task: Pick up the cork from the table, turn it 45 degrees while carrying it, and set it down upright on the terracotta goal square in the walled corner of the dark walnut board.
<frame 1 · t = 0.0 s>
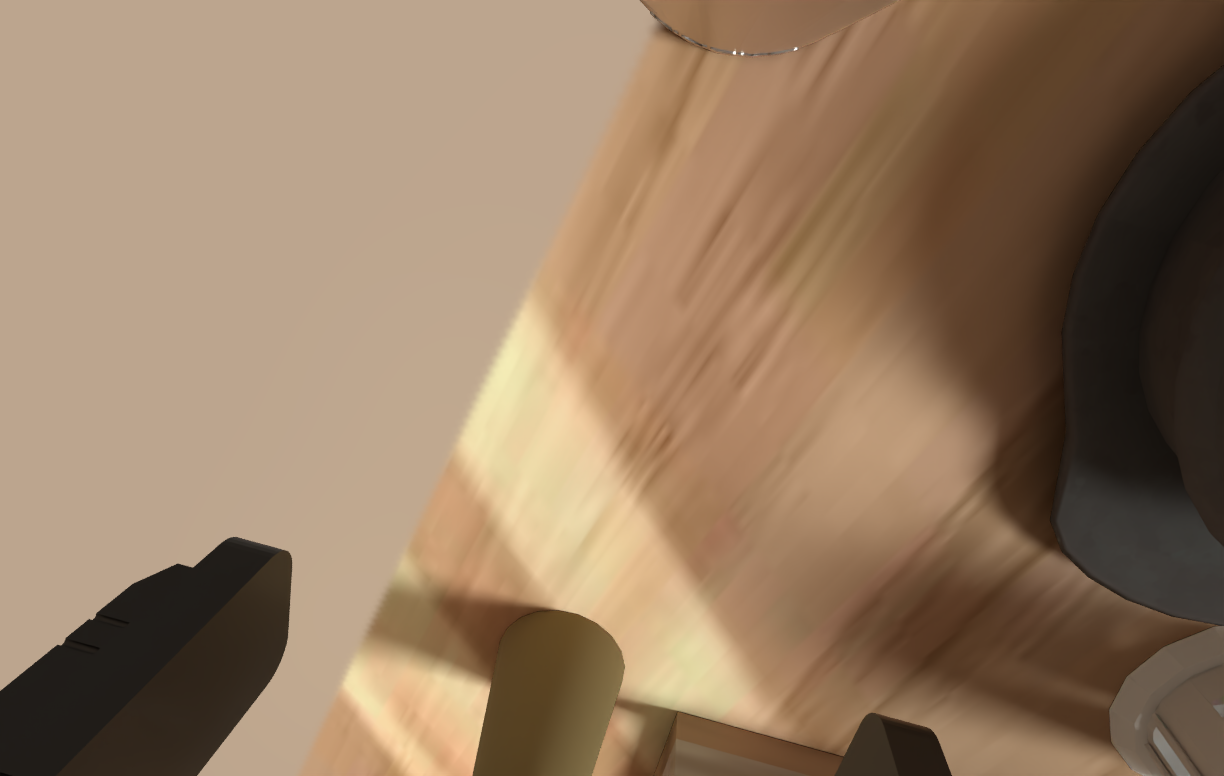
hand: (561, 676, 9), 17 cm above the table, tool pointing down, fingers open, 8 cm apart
french press: (1212, 709, 29), on the table
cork: (561, 658, 32), on the table
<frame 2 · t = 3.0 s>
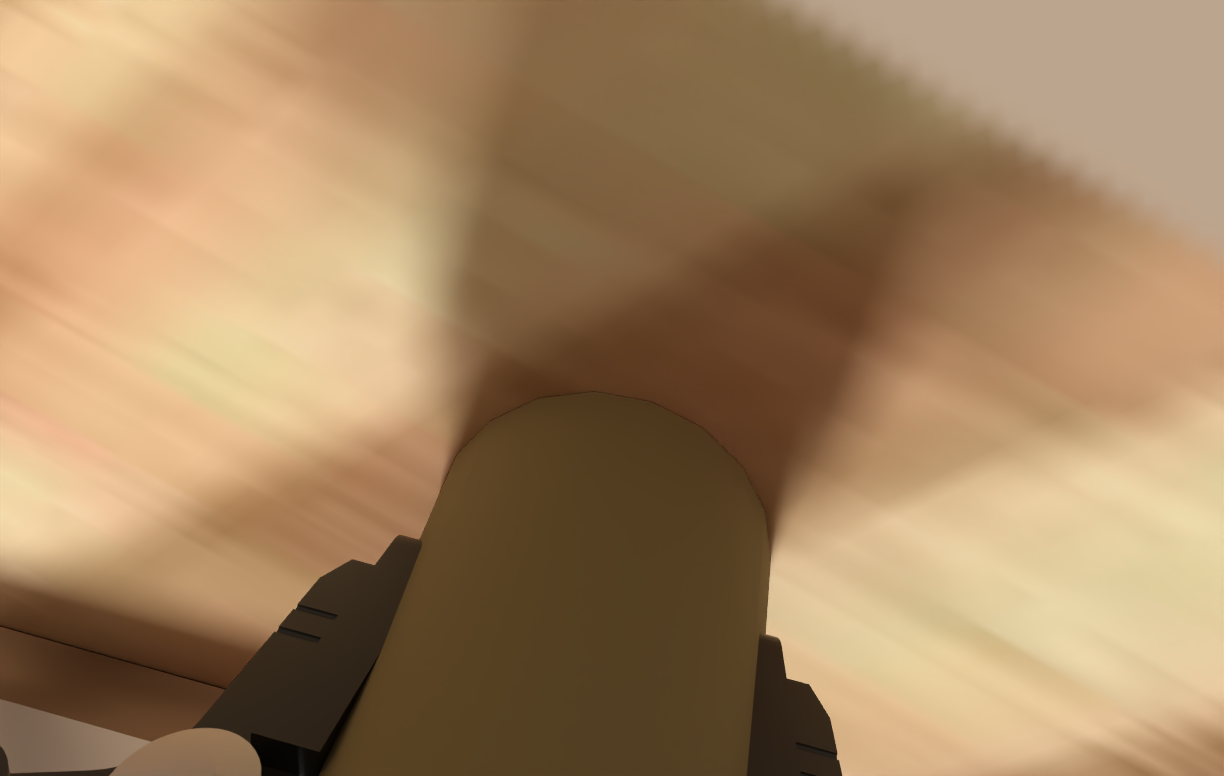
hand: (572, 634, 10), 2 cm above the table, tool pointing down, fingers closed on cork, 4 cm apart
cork: (600, 542, 12), on the table, touching gripper
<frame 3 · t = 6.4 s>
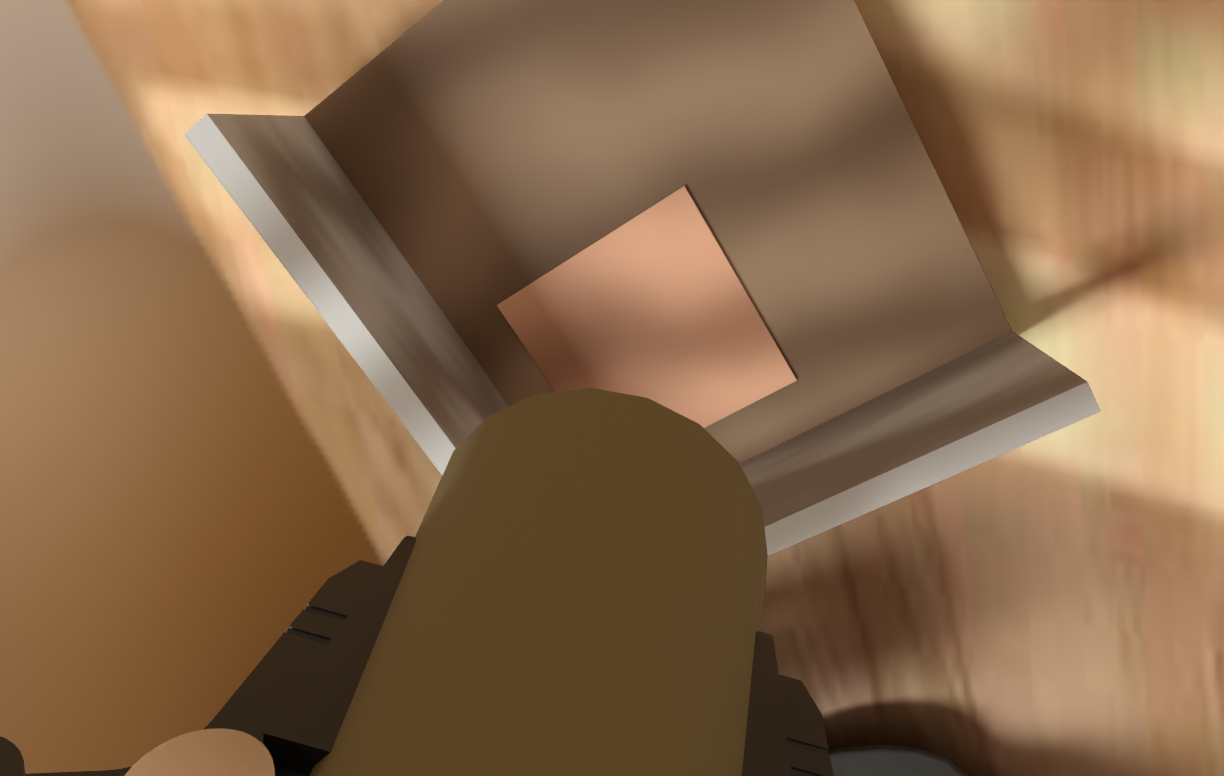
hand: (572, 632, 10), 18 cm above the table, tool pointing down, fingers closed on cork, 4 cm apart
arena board: (652, 236, 25), on the table
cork: (596, 539, 12), point 15 cm above the table, touching gripper
when the fingers open (5 cm above the table, at t = 9.5 s): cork drops 1 cm, resting on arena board.
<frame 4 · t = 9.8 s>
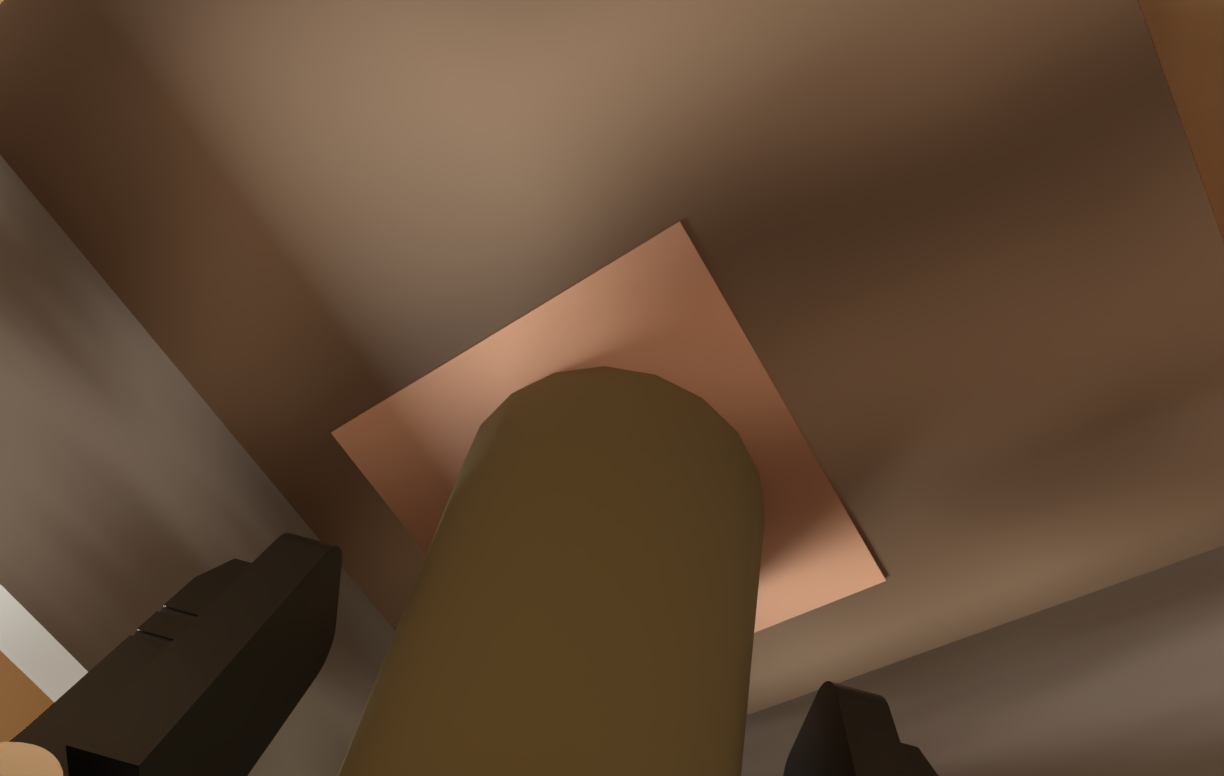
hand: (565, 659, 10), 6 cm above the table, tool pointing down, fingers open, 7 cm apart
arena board: (620, 307, 14), on the table
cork: (609, 505, 14), point 1 cm above the table, touching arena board
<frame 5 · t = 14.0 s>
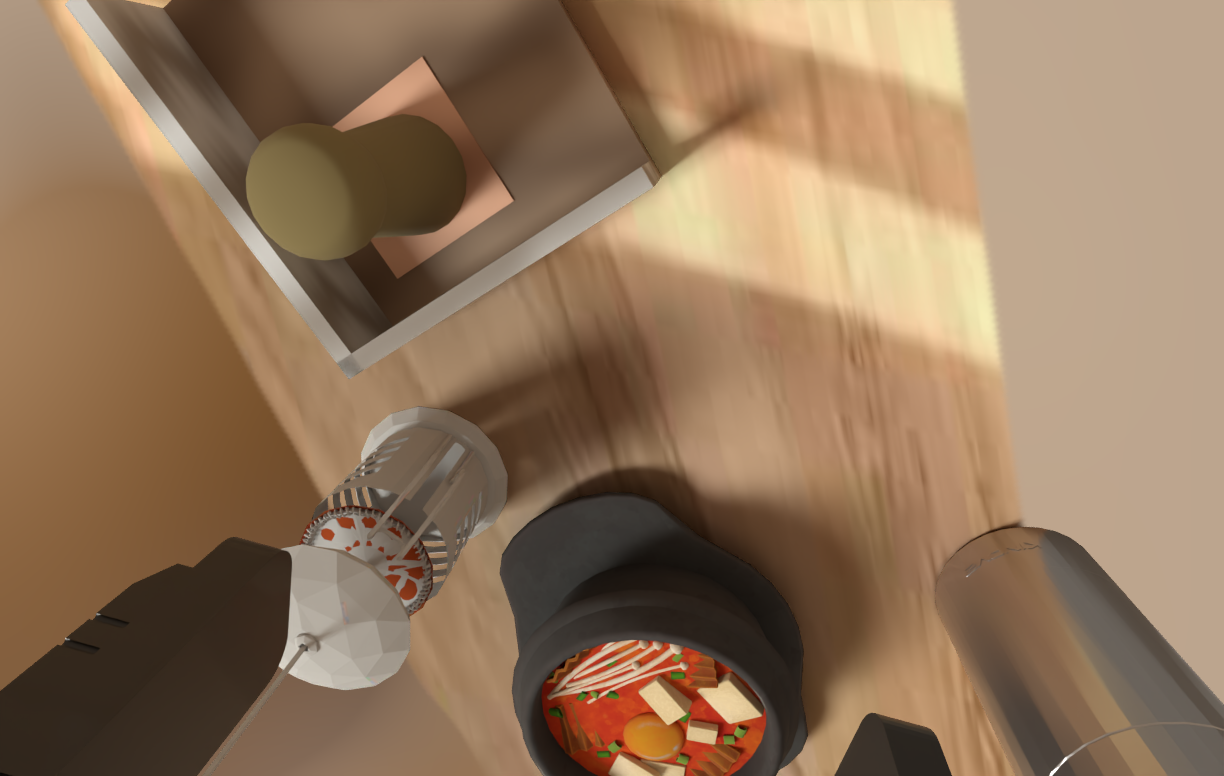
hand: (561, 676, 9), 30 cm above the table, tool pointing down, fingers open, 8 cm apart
casserole: (658, 633, 47), on the table
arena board: (415, 100, 36), on the table
french press: (442, 466, 44), on the table
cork: (411, 176, 36), point 1 cm above the table, touching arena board
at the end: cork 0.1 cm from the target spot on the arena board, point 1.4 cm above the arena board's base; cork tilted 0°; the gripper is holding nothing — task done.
